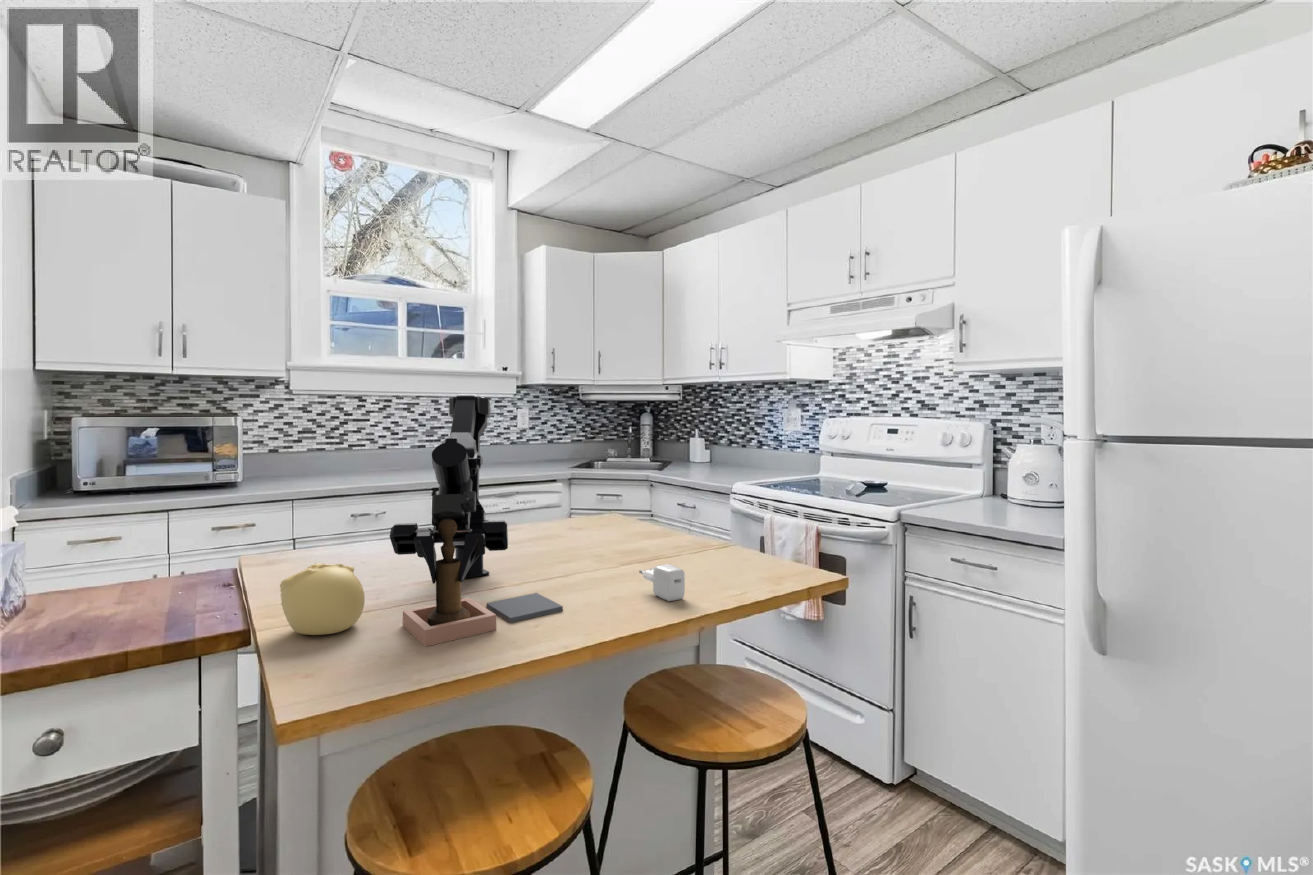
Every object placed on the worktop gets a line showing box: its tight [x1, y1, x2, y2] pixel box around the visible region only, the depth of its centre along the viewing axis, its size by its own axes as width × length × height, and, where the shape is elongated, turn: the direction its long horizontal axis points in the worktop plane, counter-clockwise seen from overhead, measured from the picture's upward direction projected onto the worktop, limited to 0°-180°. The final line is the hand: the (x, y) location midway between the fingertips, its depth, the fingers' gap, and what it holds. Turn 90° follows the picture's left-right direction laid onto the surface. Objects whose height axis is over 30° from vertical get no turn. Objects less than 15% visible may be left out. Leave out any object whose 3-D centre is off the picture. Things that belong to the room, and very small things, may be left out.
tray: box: [402, 597, 497, 647], centre depth 104 cm, size 11×11×2 cm
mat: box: [485, 592, 564, 623], centre depth 113 cm, size 10×10×1 cm
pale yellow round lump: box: [279, 562, 366, 636], centre depth 103 cm, size 12×12×11 cm
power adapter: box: [638, 563, 686, 602], centre depth 122 cm, size 11×5×6 cm, turn 33°
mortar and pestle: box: [427, 519, 470, 626], centre depth 103 cm, size 7×6×18 cm
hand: (447, 581), depth 102 cm, fingers closed on mortar and pestle, 4 cm apart
